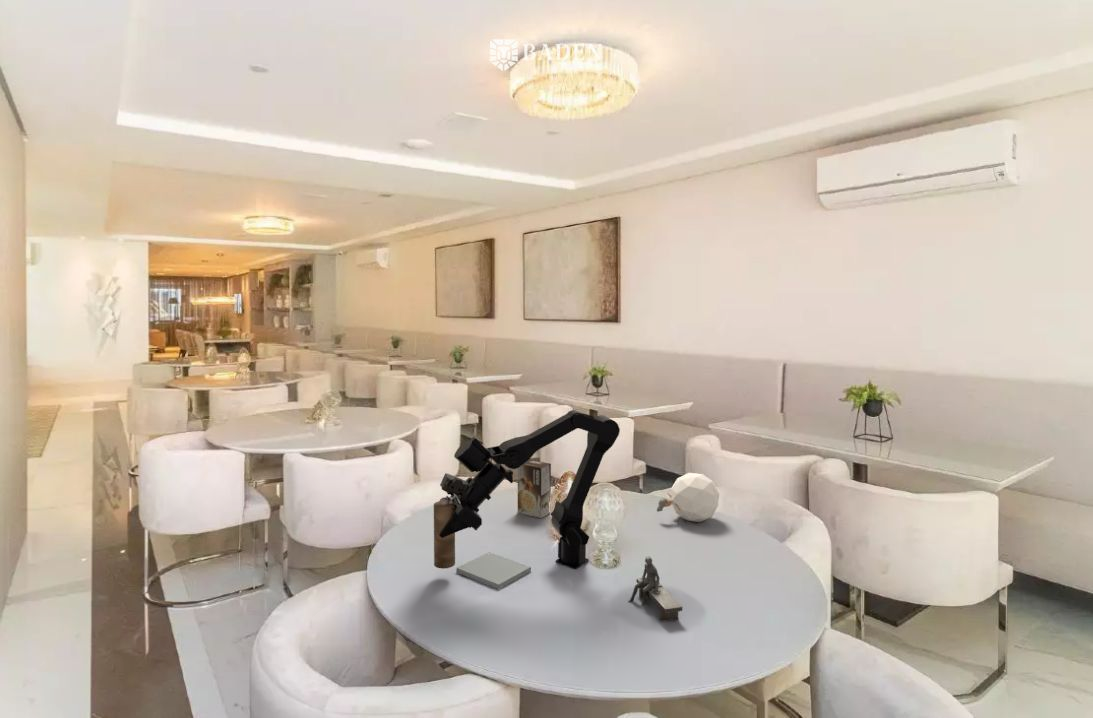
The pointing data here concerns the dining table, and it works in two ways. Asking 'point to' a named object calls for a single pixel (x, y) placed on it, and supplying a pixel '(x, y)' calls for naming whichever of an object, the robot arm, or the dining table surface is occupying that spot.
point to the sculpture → (656, 592)
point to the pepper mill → (446, 545)
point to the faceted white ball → (692, 497)
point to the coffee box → (534, 488)
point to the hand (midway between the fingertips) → (438, 532)
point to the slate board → (493, 570)
